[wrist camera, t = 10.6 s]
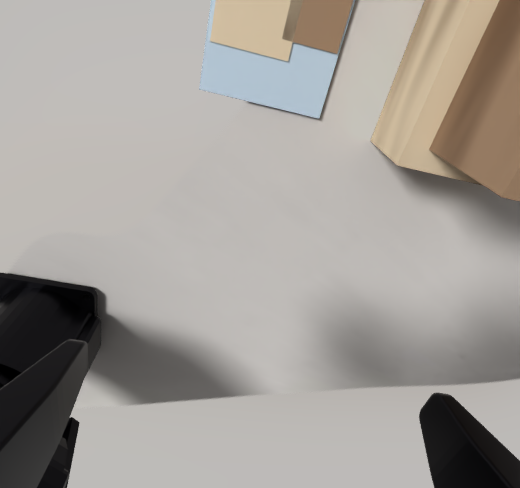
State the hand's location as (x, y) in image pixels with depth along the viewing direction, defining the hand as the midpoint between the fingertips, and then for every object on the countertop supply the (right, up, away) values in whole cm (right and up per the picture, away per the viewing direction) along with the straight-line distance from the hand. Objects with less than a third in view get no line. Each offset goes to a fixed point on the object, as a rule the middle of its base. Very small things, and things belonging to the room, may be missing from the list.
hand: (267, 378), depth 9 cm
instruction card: (+1, +14, +6) cm, 15 cm away
